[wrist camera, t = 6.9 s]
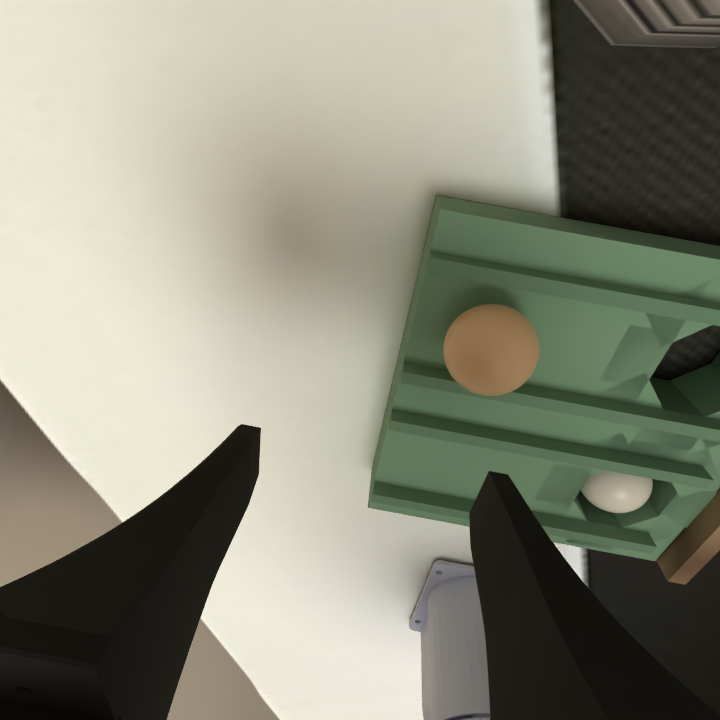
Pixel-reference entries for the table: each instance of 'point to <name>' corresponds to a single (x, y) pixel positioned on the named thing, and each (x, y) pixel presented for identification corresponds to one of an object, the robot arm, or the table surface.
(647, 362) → the green egg tray
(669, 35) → the can
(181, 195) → the table surface
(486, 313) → the ball orange
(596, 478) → the ball white
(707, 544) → the backstop
